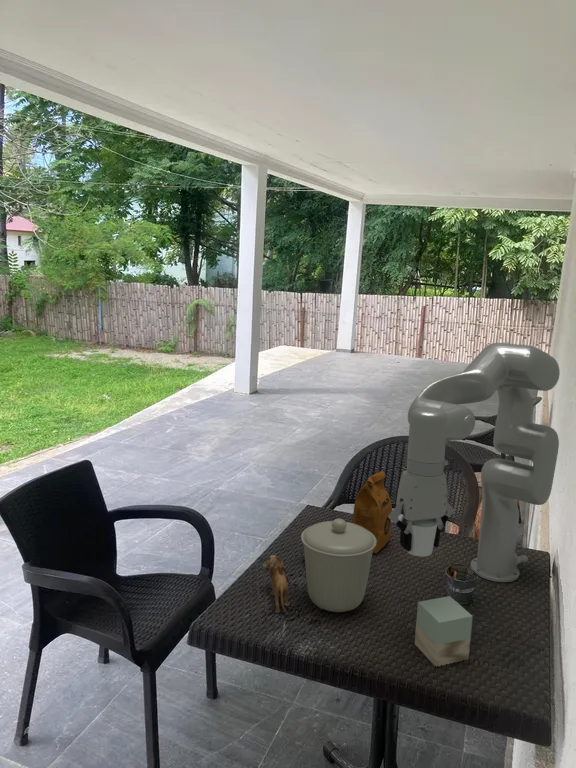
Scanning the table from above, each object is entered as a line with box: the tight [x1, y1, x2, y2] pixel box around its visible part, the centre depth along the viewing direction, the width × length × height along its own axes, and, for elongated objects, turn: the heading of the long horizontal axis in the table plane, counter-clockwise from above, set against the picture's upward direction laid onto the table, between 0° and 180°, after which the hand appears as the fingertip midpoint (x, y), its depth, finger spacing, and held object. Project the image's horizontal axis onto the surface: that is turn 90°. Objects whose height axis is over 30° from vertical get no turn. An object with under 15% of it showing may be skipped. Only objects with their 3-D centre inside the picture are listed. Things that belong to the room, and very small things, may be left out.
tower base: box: [414, 623, 471, 668], centre depth 122 cm, size 8×8×5 cm
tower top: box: [415, 596, 473, 645], centre depth 122 cm, size 8×8×5 cm
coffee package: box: [352, 470, 393, 554], centre depth 169 cm, size 10×12×22 cm
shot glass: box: [405, 519, 438, 557], centre depth 124 cm, size 7×7×7 cm
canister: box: [300, 518, 377, 613], centre depth 139 cm, size 18×18×21 cm
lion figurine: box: [262, 554, 291, 616], centre depth 140 cm, size 15×5×9 cm, turn 18°
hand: (419, 545), depth 124 cm, fingers closed on shot glass, 6 cm apart
